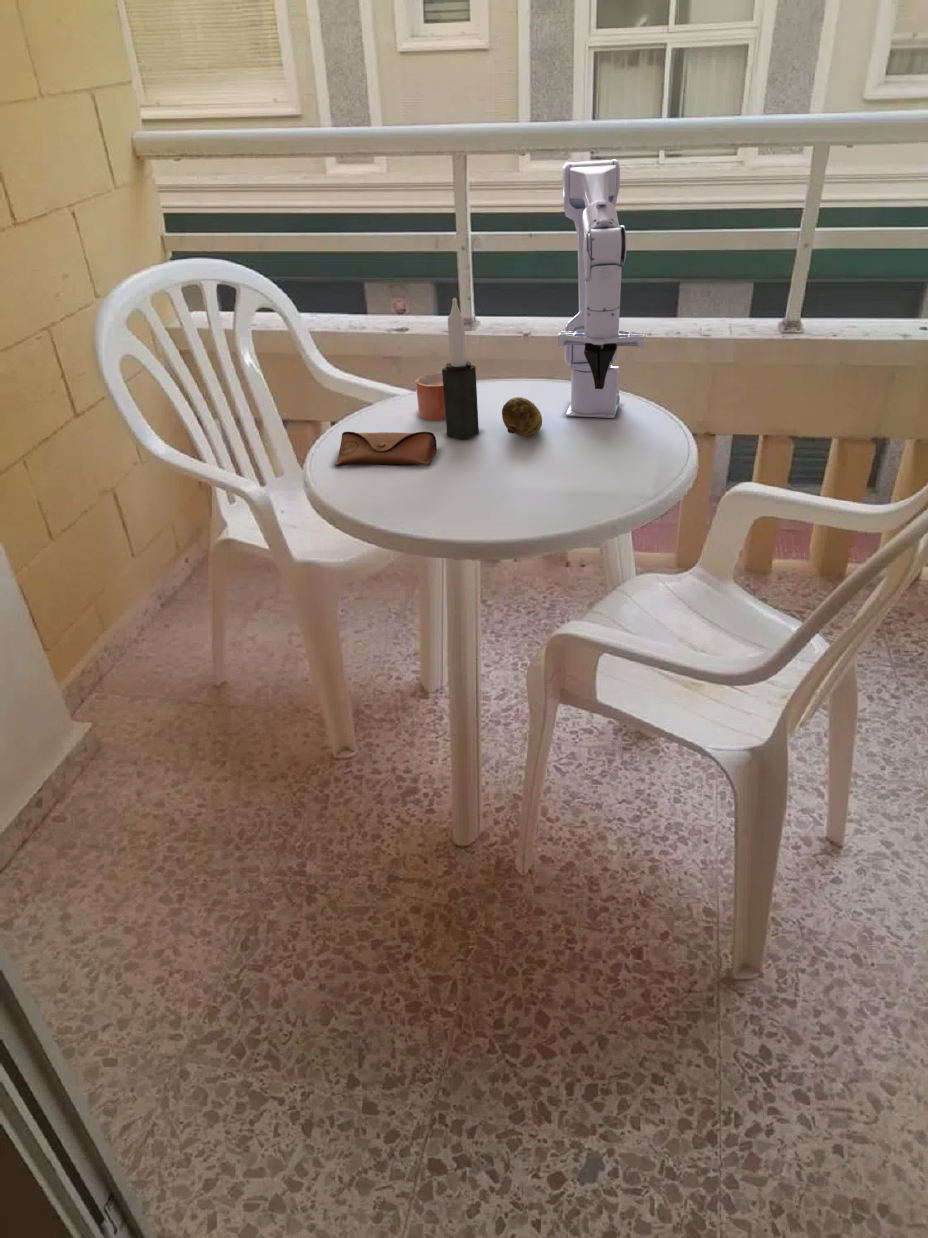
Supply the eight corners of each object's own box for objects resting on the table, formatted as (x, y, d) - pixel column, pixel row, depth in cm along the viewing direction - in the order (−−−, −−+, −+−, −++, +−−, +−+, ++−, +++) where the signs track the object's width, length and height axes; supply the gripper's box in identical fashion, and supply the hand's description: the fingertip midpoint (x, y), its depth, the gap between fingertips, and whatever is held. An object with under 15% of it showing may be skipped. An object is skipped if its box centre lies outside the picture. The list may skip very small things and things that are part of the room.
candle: (465, 440, 155) (457, 302, 141) (444, 435, 158) (433, 299, 143) (481, 431, 158) (474, 296, 144) (460, 426, 161) (451, 293, 147)
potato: (558, 425, 158) (558, 385, 154) (528, 450, 149) (527, 408, 145) (519, 419, 162) (518, 379, 157) (488, 443, 153) (486, 402, 148)
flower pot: (462, 406, 170) (460, 373, 166) (451, 421, 164) (449, 386, 160) (425, 405, 172) (422, 372, 168) (413, 419, 166) (410, 385, 162)
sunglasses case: (332, 465, 148) (332, 427, 147) (342, 469, 155) (342, 433, 154) (430, 464, 145) (431, 426, 145) (437, 469, 152) (437, 432, 152)
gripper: (555, 312, 136) (554, 393, 143) (644, 313, 132) (639, 396, 140) (562, 301, 141) (561, 379, 149) (648, 302, 137) (643, 382, 145)
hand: (599, 387), depth 145 cm, fingers closed
